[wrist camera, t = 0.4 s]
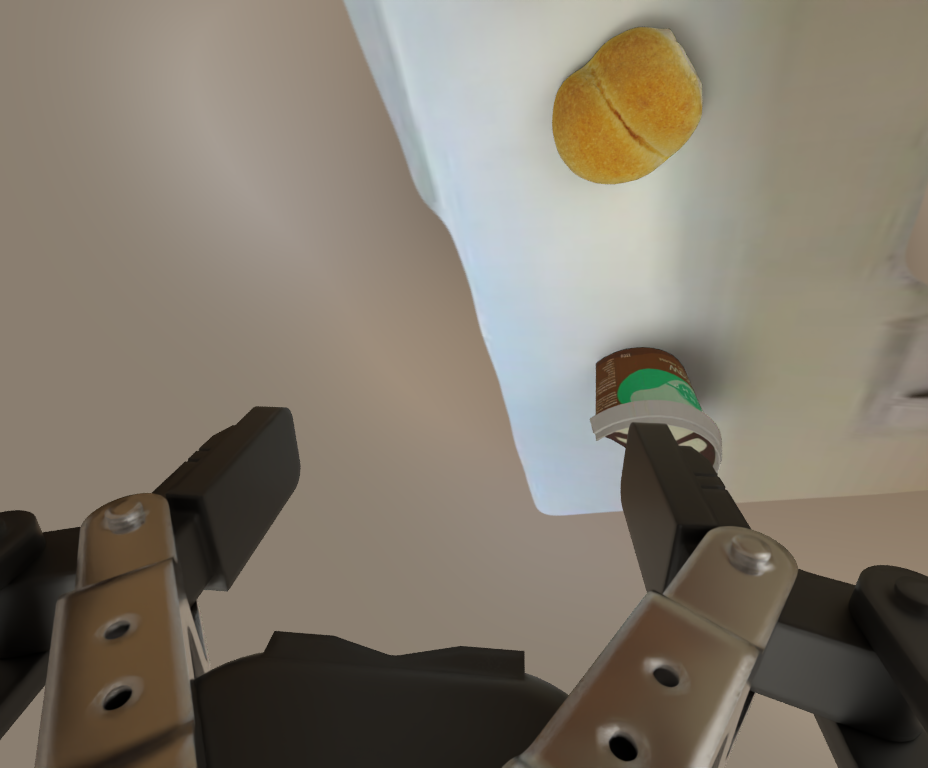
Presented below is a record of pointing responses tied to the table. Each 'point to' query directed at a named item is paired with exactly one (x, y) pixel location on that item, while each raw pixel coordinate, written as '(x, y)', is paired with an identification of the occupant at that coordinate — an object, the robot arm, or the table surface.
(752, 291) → the table surface
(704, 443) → the food container
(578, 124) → the bread roll
